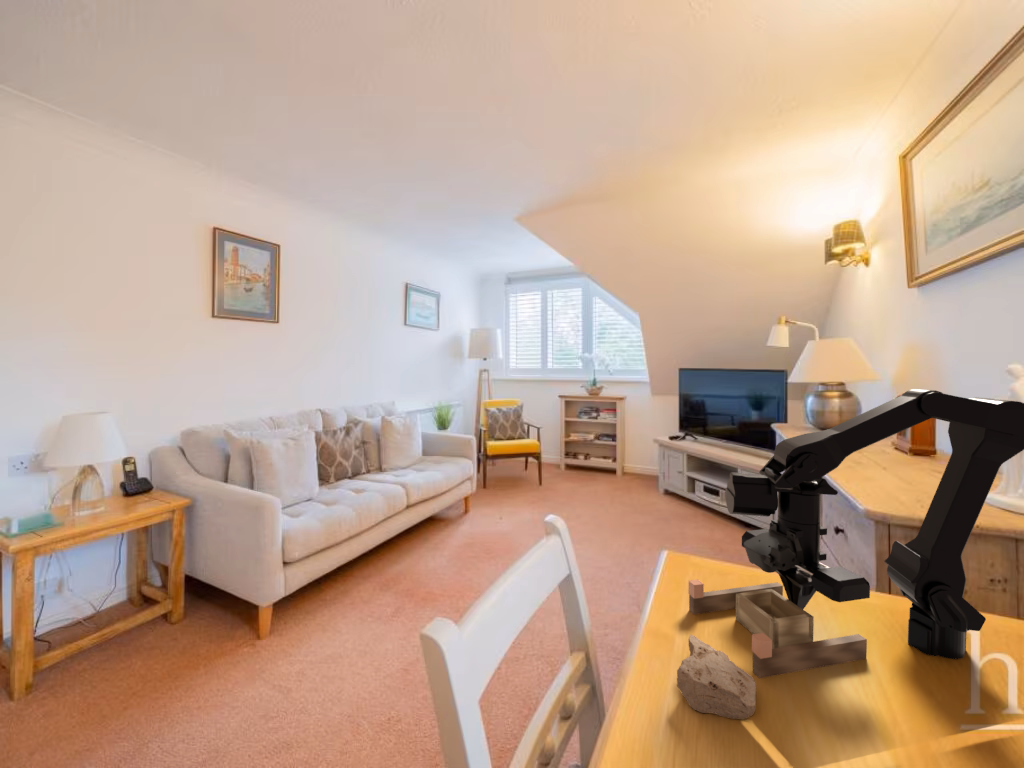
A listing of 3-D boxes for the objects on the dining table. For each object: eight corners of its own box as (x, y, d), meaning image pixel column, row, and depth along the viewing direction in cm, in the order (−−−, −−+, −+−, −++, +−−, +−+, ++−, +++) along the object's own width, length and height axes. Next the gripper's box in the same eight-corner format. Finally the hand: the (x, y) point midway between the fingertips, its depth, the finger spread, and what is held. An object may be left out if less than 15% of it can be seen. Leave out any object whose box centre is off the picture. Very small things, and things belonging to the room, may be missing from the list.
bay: (776, 601, 76) (776, 569, 76) (867, 665, 60) (868, 624, 60) (688, 614, 73) (688, 580, 73) (760, 685, 57) (760, 642, 56)
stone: (673, 706, 54) (674, 670, 54) (692, 654, 63) (692, 623, 63) (752, 741, 49) (753, 701, 48) (759, 679, 58) (760, 645, 58)
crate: (771, 614, 71) (771, 588, 71) (813, 644, 63) (813, 616, 63) (735, 619, 70) (735, 593, 70) (773, 651, 62) (774, 622, 62)
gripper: (715, 502, 74) (714, 586, 75) (806, 548, 56) (804, 658, 57) (769, 498, 76) (768, 579, 77) (874, 540, 58) (871, 647, 59)
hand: (796, 611), depth 67 cm, fingers closed
